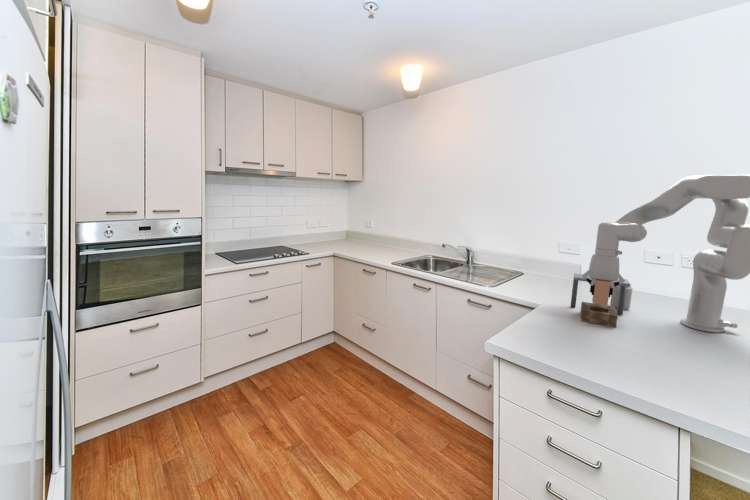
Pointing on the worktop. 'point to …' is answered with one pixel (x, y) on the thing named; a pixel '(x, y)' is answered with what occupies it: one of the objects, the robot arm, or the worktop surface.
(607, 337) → the worktop surface
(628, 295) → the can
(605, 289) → the peg
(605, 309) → the socket block
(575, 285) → the grey arch frame
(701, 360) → the worktop surface
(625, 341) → the worktop surface
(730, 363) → the worktop surface
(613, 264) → the robot arm
